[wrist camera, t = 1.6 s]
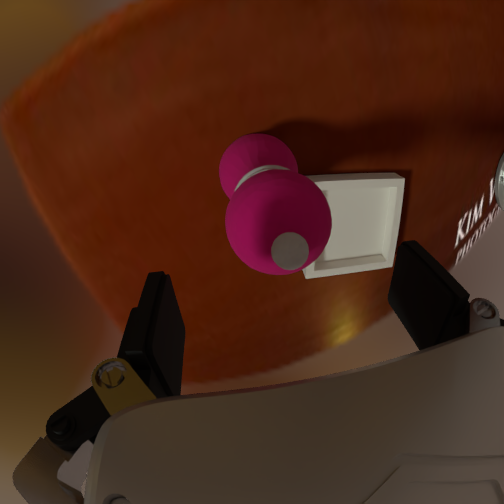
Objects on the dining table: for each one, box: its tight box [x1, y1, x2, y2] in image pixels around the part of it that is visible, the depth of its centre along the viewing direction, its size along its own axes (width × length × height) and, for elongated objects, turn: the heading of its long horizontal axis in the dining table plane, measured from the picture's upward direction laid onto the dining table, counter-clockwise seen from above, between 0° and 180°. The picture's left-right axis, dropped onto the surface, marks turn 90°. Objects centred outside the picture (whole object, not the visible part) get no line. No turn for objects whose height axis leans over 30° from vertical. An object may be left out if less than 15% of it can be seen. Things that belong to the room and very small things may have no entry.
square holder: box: [302, 173, 405, 279], centre depth 33 cm, size 12×12×2 cm
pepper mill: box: [219, 134, 332, 275], centre depth 22 cm, size 7×7×20 cm
